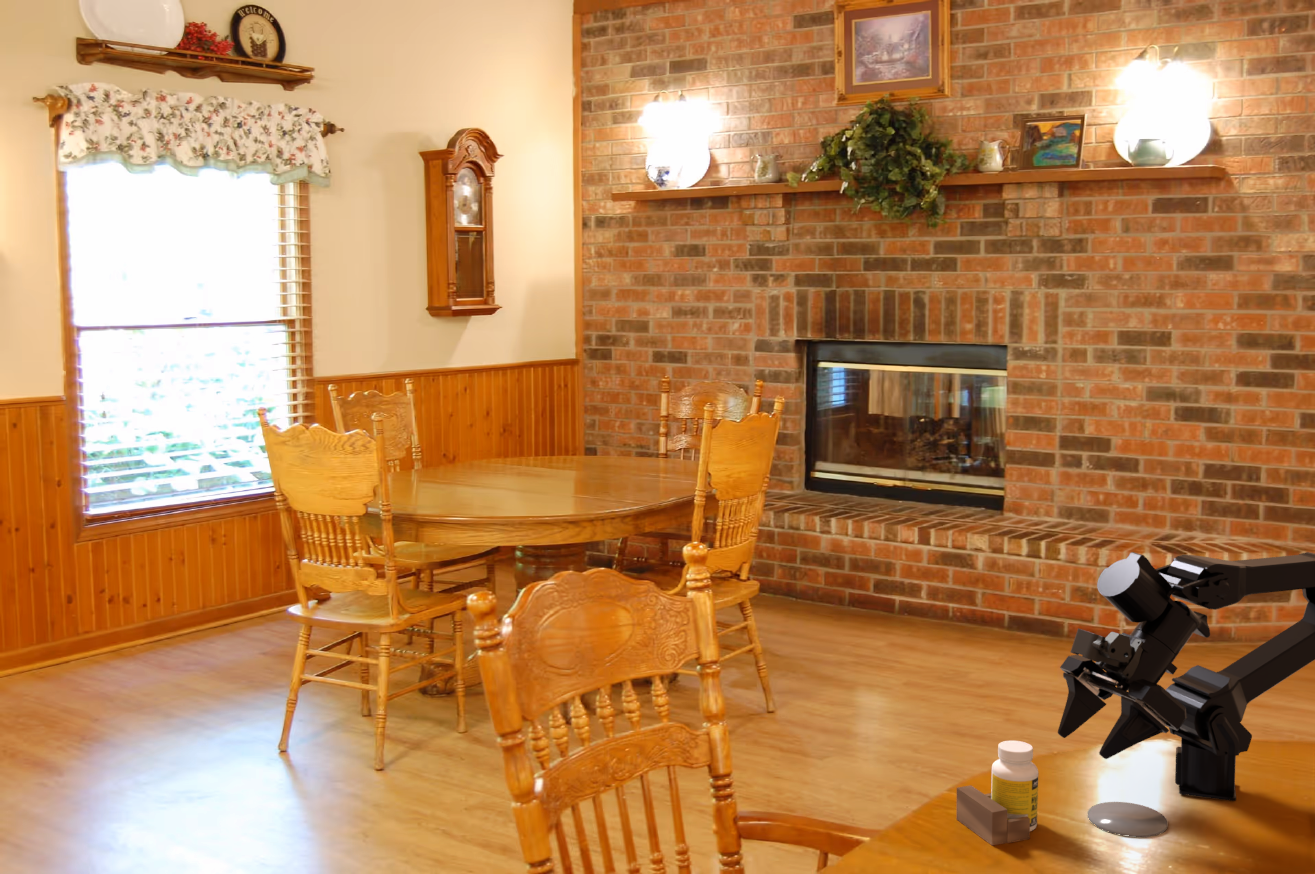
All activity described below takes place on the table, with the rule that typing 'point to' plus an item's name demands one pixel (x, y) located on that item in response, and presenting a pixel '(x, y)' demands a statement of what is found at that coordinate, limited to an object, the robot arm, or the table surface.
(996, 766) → the supplement bottle
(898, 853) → the table surface
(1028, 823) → the bracket
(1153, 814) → the slate coaster
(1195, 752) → the robot arm
